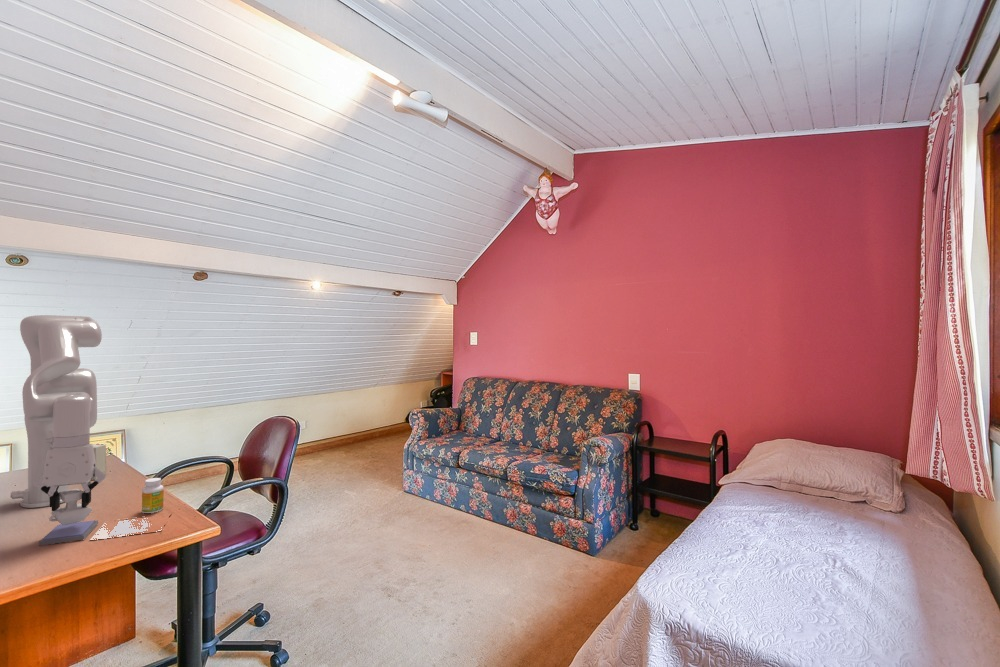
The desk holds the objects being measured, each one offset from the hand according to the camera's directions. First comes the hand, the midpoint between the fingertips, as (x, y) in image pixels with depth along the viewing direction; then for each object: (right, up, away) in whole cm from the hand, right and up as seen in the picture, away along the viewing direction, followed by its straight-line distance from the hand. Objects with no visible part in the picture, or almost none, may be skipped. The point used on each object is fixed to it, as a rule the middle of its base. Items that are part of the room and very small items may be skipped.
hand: (70, 507), depth 130 cm
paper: (+13, -8, +6) cm, 16 cm away
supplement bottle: (+9, -8, +18) cm, 22 cm away
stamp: (0, -4, 0) cm, 4 cm away
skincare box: (-35, -7, +48) cm, 60 cm away
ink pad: (0, -8, 0) cm, 8 cm away
